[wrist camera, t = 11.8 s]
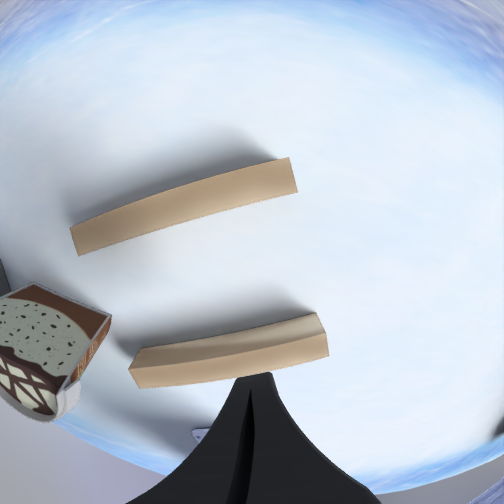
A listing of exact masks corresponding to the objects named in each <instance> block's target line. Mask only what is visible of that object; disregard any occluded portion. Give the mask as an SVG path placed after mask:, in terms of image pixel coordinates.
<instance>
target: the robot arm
mask: <svg viewBox="0 0 504 504" xmlns="http://www.w3.org/2000/svg"><path fill="white" fill-rule="evenodd" d="M192 435H193V437H194V438H195V440H196V441H197V442H198V445H197V447H196V448H195V449H194V450H193V451H192V453H191V454H190V455H189V456H188V457H187V458H186V459H185V460H184V461H183V462H182V463H181V464H180V465H179V466H178V467H177V468H176V469H175V470H174V471H173V472H172V473H171V474H169V475H168V476H167V477H166V478H164V479H163V480H162V481H161V482H159V483H158V484H157V485H155V486H154V487H153V488H151V489H150V490H148V491H147V492H145V493H144V494H142V495H140V496H138V497H137V498H135V499H133V500H131V501H129V502H128V503H126V504H381V502H380V501H379V500H378V499H377V498H376V497H375V495H374V494H373V493H372V492H371V491H370V490H369V489H368V488H367V487H366V486H364V485H363V484H361V483H359V482H358V481H356V480H355V479H353V478H352V477H351V476H349V475H348V474H346V473H345V472H344V471H342V470H341V469H340V468H339V467H337V466H336V465H335V464H334V463H333V462H331V461H330V460H329V459H328V458H327V457H326V456H325V455H324V454H323V453H322V452H321V451H319V450H318V449H317V448H316V446H315V445H314V444H313V443H312V442H311V441H310V440H309V439H308V438H307V437H306V435H305V434H304V433H303V432H302V431H301V429H300V428H299V427H298V425H297V424H296V423H295V421H294V420H293V418H292V417H291V416H290V414H289V413H288V411H287V409H286V408H285V406H284V404H283V402H282V401H281V399H280V397H279V395H278V391H277V388H276V385H275V381H274V378H273V375H272V373H270V372H265V373H260V374H255V375H250V376H244V377H239V378H237V379H236V380H235V383H234V385H233V387H232V389H231V391H230V394H229V396H228V398H227V400H226V402H225V404H224V405H223V407H222V409H221V411H220V413H219V414H218V416H217V418H216V420H215V421H214V423H213V424H212V426H211V427H210V428H208V429H195V430H192ZM468 504H504V477H503V478H501V479H500V480H499V481H498V482H497V483H495V484H494V485H493V486H491V487H490V488H489V489H488V490H486V491H485V492H484V493H482V494H481V495H480V496H478V497H477V498H475V499H474V500H472V501H471V502H469V503H468Z"/></svg>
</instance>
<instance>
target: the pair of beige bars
mask: <svg viewBox="0 0 504 504" xmlns="http://www.w3.org/2000/svg"><path fill="white" fill-rule="evenodd" d="M297 192H298V191H297V187H296V183H295V179H294V175H293V171H292V167H291V163H290V159H289V157H287V158H283V159H278V160H274V161H270V162H266V163H261V164H257V165H253V166H249V167H245V168H242V169H238V170H234V171H230V172H227V173H223V174H219V175H216V176H212V177H209V178H206V179H202V180H199V181H196V182H192V183H189V184H186V185H183V186H179V187H176V188H173V189H170V190H167V191H164V192H161V193H158V194H155V195H152V196H149V197H147V198H144V199H141V200H138V201H135V202H133V203H130V204H127V205H125V206H122V207H119V208H117V209H114V210H111V211H109V212H106V213H104V214H101V215H99V216H96V217H94V218H91V219H89V220H87V221H84V222H82V223H80V224H77V225H75V226H73V227H70V231H71V235H72V238H73V241H74V245H75V248H76V251H77V254H78V256H81V255H83V254H86V253H89V252H92V251H95V250H98V249H101V248H104V247H107V246H110V245H113V244H116V243H119V242H122V241H125V240H128V239H131V238H134V237H137V236H140V235H143V234H147V233H150V232H153V231H156V230H160V229H163V228H166V227H169V226H173V225H176V224H180V223H183V222H186V221H190V220H193V219H197V218H200V217H204V216H207V215H211V214H215V213H218V212H222V211H226V210H229V209H233V208H237V207H241V206H244V205H248V204H252V203H256V202H260V201H264V200H268V199H272V198H276V197H280V196H284V195H288V194H293V193H297ZM328 356H329V350H328V343H327V337H326V332H325V330H324V328H323V326H322V324H321V322H320V319H319V317H318V315H317V313H313V314H309V315H306V316H302V317H298V318H294V319H290V320H286V321H282V322H278V323H274V324H270V325H266V326H261V327H257V328H252V329H248V330H243V331H239V332H234V333H229V334H224V335H219V336H214V337H209V338H203V339H198V340H192V341H186V342H180V343H174V344H168V345H161V346H155V347H148V348H141V349H140V350H139V352H138V354H137V355H136V357H135V358H134V360H133V362H132V363H131V365H130V367H129V368H128V370H129V372H130V374H131V375H132V377H133V379H134V380H135V382H136V384H137V385H138V387H139V389H140V388H156V387H168V386H179V385H188V384H196V383H204V382H211V381H218V380H225V379H231V378H237V377H242V376H248V375H253V374H258V373H263V372H268V371H273V370H277V369H282V368H286V367H290V366H294V365H298V364H302V363H306V362H310V361H314V360H317V359H321V358H324V357H328Z"/></svg>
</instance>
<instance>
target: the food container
mask: <svg viewBox="0 0 504 504" xmlns="http://www.w3.org/2000/svg"><path fill="white" fill-rule="evenodd" d="M111 317H112V315H110V314H107V313H105V312H102V311H100V310H97V309H94V308H92V307H89V306H87V305H84V304H82V303H80V302H77V301H75V300H72V299H70V298H68V297H66V296H63V295H61V294H59V293H57V292H54V291H52V290H50V289H48V288H46V287H44V286H41V285H39V284H37V283H35V282H32V283H30V284H28V285H25V286H23V287H21V288H19V289H17V290H14V291H12V292H10V293H8V294H6V295H4V296H2V297H0V397H1V398H2V399H3V400H5V402H7V403H8V404H9V405H10V406H11V407H13V408H14V409H15V410H17V411H18V412H19V413H21V414H22V415H24V416H26V417H28V418H30V419H32V420H35V421H38V422H42V423H49V422H52V421H54V420H57V419H59V418H61V417H62V416H64V415H65V414H66V413H67V412H68V411H70V410H71V409H72V408H73V407H74V406H75V405H76V404H77V402H78V400H79V398H80V391H81V386H80V377H81V376H82V374H83V372H84V371H85V369H86V367H87V366H88V364H89V362H90V361H91V359H92V357H93V356H94V354H95V352H96V351H97V349H98V348H99V346H100V344H101V343H102V341H103V340H104V338H105V337H106V335H107V333H108V331H109V328H110V325H111Z"/></svg>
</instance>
